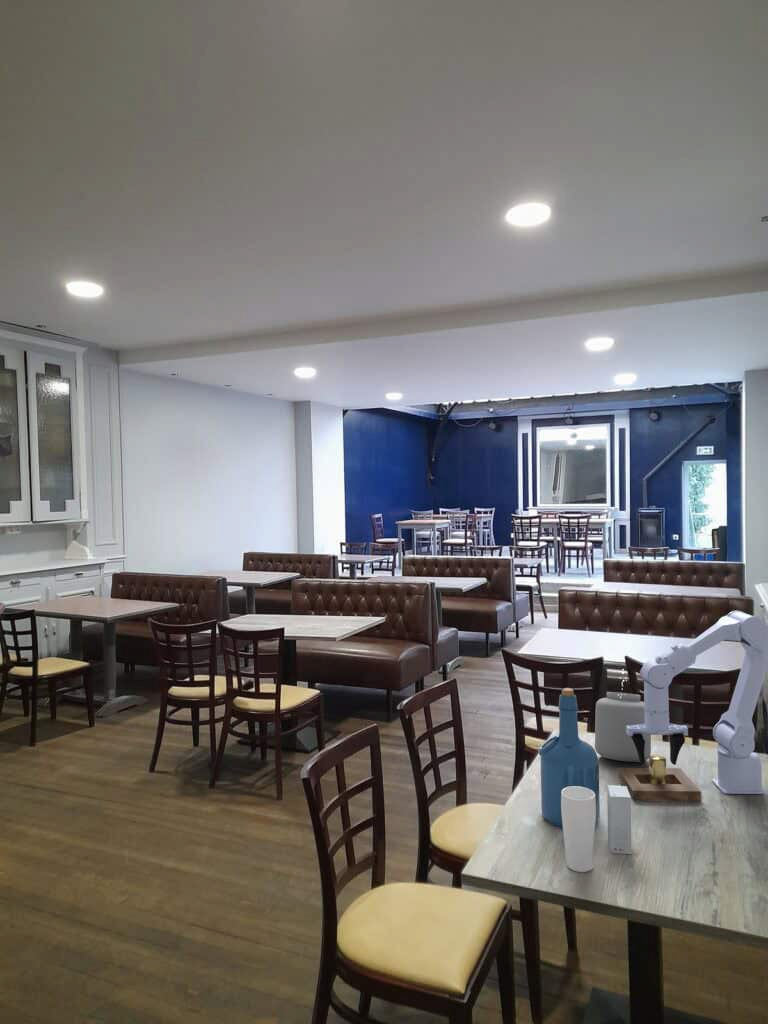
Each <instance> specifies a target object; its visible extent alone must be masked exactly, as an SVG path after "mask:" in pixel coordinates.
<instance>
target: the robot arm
mask: <svg viewBox="0 0 768 1024" xmlns="http://www.w3.org/2000/svg"><path fill="white" fill-rule="evenodd" d="M724 641H733V642H734V641H736V642H737V641H738V642H739V643H740V645H741V646H742V648H743V650H745V655H744V659H743V661H742V665H741V669H740V670H739V671H740V672H739V675H738V678H737V682H736V684H735V687H734V691H733V694H732V697H731V700H730V704H729V707H728V710H727V711H725V712H724V713H722V714H721V716H720V718H719V721H718V722H717V723H716V724H715V725H714V727H713V729H712V736H713V739H714V740H715V742H716V743H717V778H712V779H711V781H712V783H713V784H714V785H715V786H716V787H717V788H718V789H719V791H721V792H722V793H723V794H726V795H729V794H730V795H732V794H733V795H734V794H736V795H738V794H739V795H763V794H764V791H763V768H762V767H763V766H762V761H761V759H760V757H759V754H757V753H756V752H754V750H755V747H756V745H755V744H756V743H755V734H756V729H755V726H754V723H753V715H754V713H755V710H756V707H757V703H758V700H759V696H760V693H761V690H762V687H763V684H764V680H765V678H766V674H767V671H768V624H767V623H766V622H765V620H763V619H762V618H761V617H760V616H759V617H758V616H754V615H752V614H748V613H745V612H744V611H740V610H732V611H731V612H729V613H728V614H726V615H724V616H721V617H720V618H719V619H718V621H717V622H715V624H713V625H712V626H711V627H709V628H708V629H706V630H705V631H704V632H702V633H701V634H699V636H697V637H695V638H694V639H693V640H691V641H690V642H688V643H687V644H684V643H678V644H672V645H671V646H670V648H671V649H669V650H668V651H666V652H665V653H663V654H661V655H660V656H659V655H657V656H656V657H654V659H655V660H653V659H652V660H651V659H650V660H647V661H646V662H644V664H643V665H642V667H641V669H640V670H639V674H640V677H641V678H642V679H643V687H644V688H643V689H644V690H643V698H644V699H643V702H644V712H645V724H640V725H632V726H626V729H627V734H628V735H629V736H631V738H632V740H633V742H634V744H635V746H636V749H637V752H638V756H639V762H638V763H640V764H641V765H643V766H644V765H646V763H645V762H646V760H645V756H644V748H645V740H644V739H643V736H642V735H651V736H652V735H654V736H657V735H658V736H668V739H669V747H670V748H669V752H670V753H669V761H670V763H671V764H672V765H677V761H678V757H679V753H680V752H681V749H682V747H683V745H684V744H685V743H686V736H689V727H687V725H685V724H684V725H678V724H670V712H669V711H670V710H669V709H670V704H669V701H670V700H669V686H670V685H671V683H672V681H673V678H674V677H675V676H677V675H679V674H681V672H683V671H684V670H686V669H688V668H689V667H691V666H693V665H694V664H695V663H696V660H697V656H700V655H701V654H702V653H705V652H706V651H708V650H709V649H711V648H713V647H714V646H717V645H718V644H720V643H722V642H724Z"/></svg>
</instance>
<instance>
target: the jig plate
mask: <svg viewBox="0 0 768 1024" xmlns="http://www.w3.org/2000/svg"><path fill="white" fill-rule="evenodd" d="M617 778H618V780H619V779H620V780H619V781H620V783H621V782H622V783H621V784H622V786H623V785H624V786H627V789H628V791H629V794H630V797H631V801H633V802H691V803H692V802H694V803H695V802H699V803H700V802H702V790H700V789H699V787H697V785H696V784H695V782H693V781H692V780H691V779H690V777H689V776H688V775H687V774H686V773H685V772H684V770H683V769H682V768H680V767H677V768H676V767H666V784H649V767H617Z"/></svg>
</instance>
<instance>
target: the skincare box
mask: <svg viewBox="0 0 768 1024" xmlns="http://www.w3.org/2000/svg"><path fill="white" fill-rule="evenodd" d="M606 786H607V787H606V788H607V791H606V792H607V794H606V795H607V797H606V798H607V840H608V845H609V850H610V852H611V853H612V854H624V855H632V798H631V797H630V794H629V791H628V789H627V786H623V785H614V784H613V785H611V784H607V785H606Z"/></svg>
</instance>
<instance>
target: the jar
mask: <svg viewBox="0 0 768 1024" xmlns="http://www.w3.org/2000/svg"><path fill="white" fill-rule="evenodd" d="M621 670H622V672H621V674H624V673H625V672H624V668H623V669H621ZM619 679H622V678H621V677H619ZM624 679H625V680H624ZM624 679H623V680H622V682H621V686H622V687H624V685H623V682H625V681H626V682H627V681H628V680H627V677H626V676H625V678H624ZM621 690H623V688H621ZM594 717H595V723H594V724H595V725H594V726H595V727H594V728H595V729H594V750H595V752H596V754H598V755H599V756H601V757H603V758H606V759H610V760H615V761H620V762H632V763H633V762H634V763H640V762H639V756H638V752H637V749H636V746H635V744H634V742H633V740H632V738H631V736H629V735H628V734H627V729H626V726H632V725H640V724H645V712H644V701H642V700H641V695H640V694H635V693H627V692H618V691H617V692H616V691H614V692H613V691H606V697H603V698H602V697H601V698H600V699H598V700H597V701H596V703H595V716H594ZM642 736H643V739H644V740H645V748H644V756H645V761H647V760H649V756H651V755H652V754H651V752H652V735H642Z"/></svg>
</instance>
